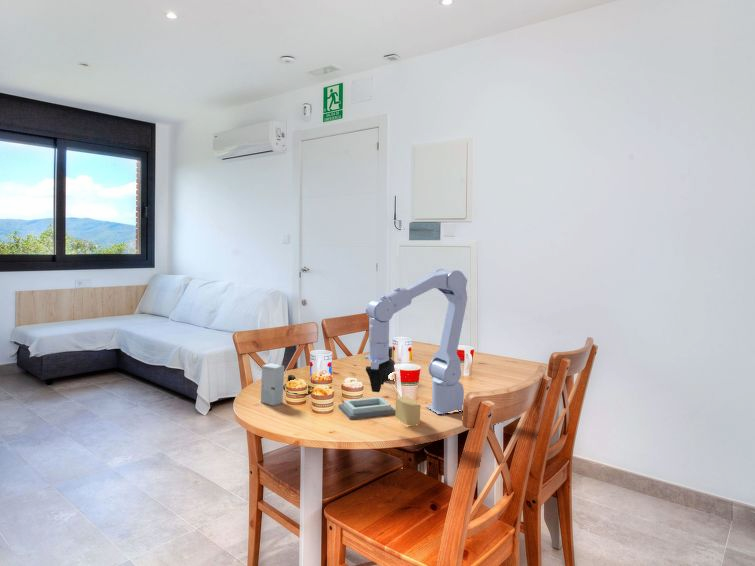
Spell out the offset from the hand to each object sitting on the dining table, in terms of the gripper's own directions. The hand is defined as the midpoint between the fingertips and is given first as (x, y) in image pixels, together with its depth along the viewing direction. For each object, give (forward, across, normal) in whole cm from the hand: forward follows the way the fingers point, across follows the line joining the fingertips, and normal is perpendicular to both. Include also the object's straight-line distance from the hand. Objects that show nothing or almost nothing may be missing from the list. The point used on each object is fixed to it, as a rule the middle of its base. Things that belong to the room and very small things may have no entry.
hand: (378, 387), depth 138 cm
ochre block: (+10, -2, +9) cm, 13 cm away
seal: (+10, -24, -32) cm, 42 cm away
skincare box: (+10, -8, -36) cm, 38 cm away
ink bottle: (+10, -47, -5) cm, 48 cm away
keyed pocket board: (+10, -8, -4) cm, 13 cm away
